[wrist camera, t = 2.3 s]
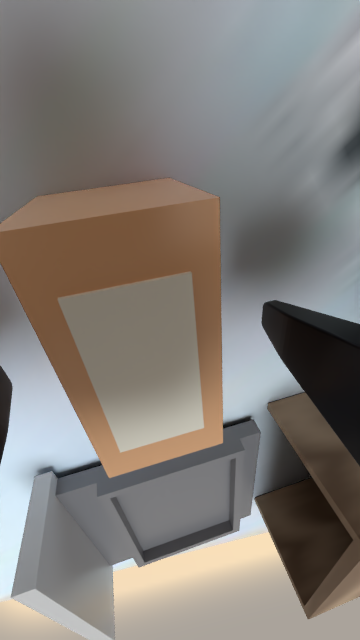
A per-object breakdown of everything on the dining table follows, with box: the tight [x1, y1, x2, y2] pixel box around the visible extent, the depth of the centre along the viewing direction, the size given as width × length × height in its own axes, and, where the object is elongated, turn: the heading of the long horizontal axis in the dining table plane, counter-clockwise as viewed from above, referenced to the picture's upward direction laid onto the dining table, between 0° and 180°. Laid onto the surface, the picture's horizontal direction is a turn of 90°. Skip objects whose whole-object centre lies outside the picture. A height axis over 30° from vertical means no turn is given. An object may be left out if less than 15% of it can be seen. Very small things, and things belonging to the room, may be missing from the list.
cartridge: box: [0, 178, 223, 478], centre depth 10 cm, size 9×4×5 cm, turn 6°
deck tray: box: [11, 420, 261, 640], centre depth 19 cm, size 14×15×5 cm
